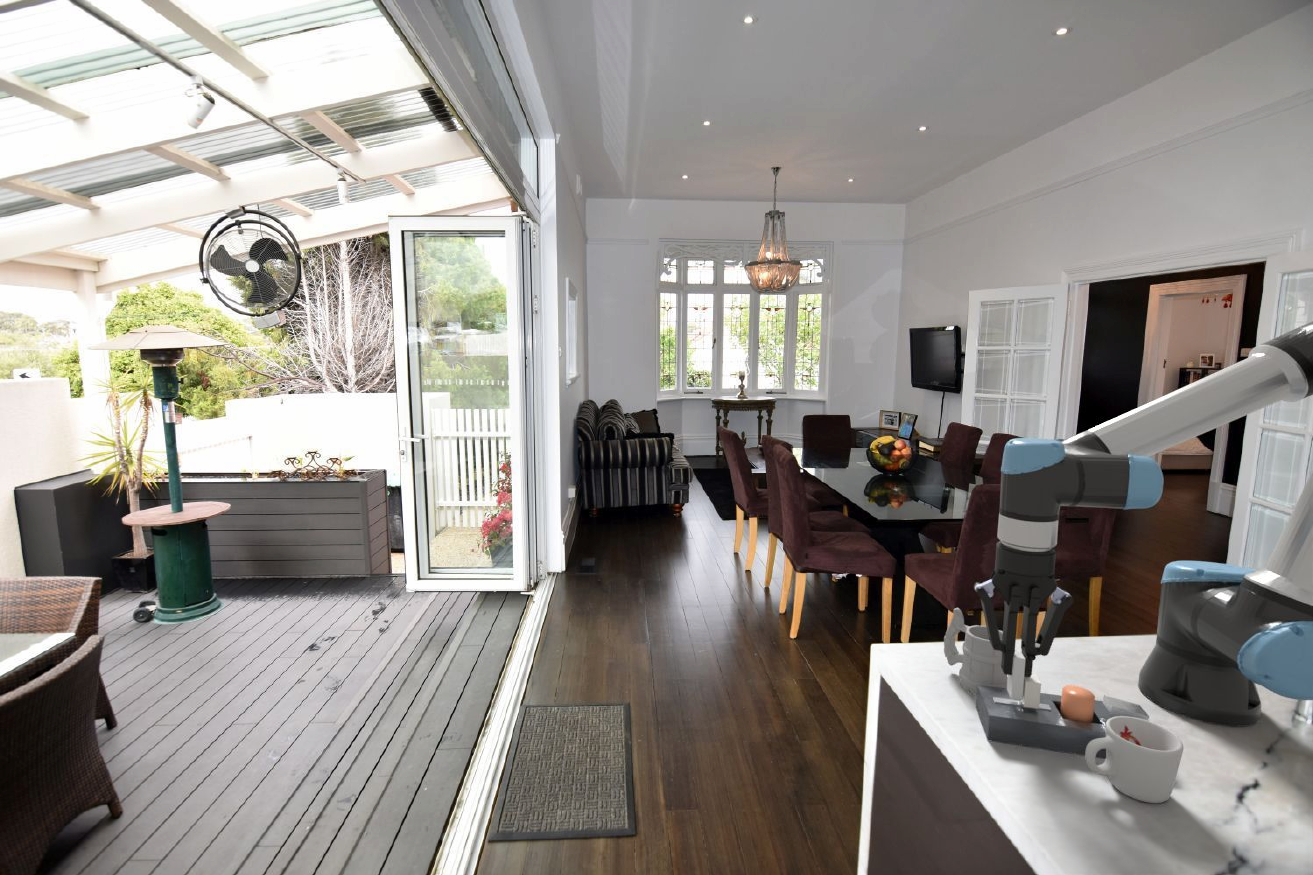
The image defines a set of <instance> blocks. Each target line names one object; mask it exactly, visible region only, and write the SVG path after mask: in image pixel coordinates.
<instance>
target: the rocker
mask: <svg viewBox="0 0 1313 875" xmlns="http://www.w3.org/2000/svg"><path fill="white" fill-rule="evenodd" d="M1101 701H1102V703H1103V704H1104V705H1105V707H1106V708H1107V709H1108V711H1109V712H1110V713H1112V714H1115V715H1119V716H1128V717H1135V718H1139V719H1143V720H1147V721H1149V720H1150V715H1149V714H1148V713H1147V712H1146V711H1145V710H1144V708H1143V707H1142V706H1141V704H1137V703H1133V702H1129V701H1125V700H1123V699H1118V698H1115V697H1112V696H1107V695H1104V696H1103V699H1102V700H1101Z"/></svg>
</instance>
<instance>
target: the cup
mask: <svg viewBox="0 0 1313 875" xmlns="http://www.w3.org/2000/svg"><path fill="white" fill-rule="evenodd" d="M1105 732H1106V737H1105V738H1098V739H1094V740H1092V741H1091V742H1089V743H1088V745H1087V747H1086V751H1085V756H1084V757H1085V761H1086V764H1087V766H1088V768H1089V769H1090V770H1091V771H1092V772H1094V773H1095V774H1098V775H1100V776H1101V775H1102V776H1108V779H1109V781H1110V783H1112V785H1113V786H1114V788H1116V789H1117V790H1118V791H1120V792H1121V793H1123V794H1124V795H1126V796H1129V798H1133V799H1135V800H1138V801H1141V802H1144V803H1150V804H1160V803H1163V802H1166V801H1168V800H1169V798H1170V797H1171V795H1172V793H1173V790H1174V787H1175V784H1176V779H1177V775H1178V772H1179V769H1180V764H1181V762H1182V761H1181V760H1182V757H1183V756H1182V755H1183V753H1184V744H1183V742H1182V739H1180V738H1179V736H1177V735H1176V734H1175V733H1174V732H1172V731H1171V730H1169V729H1168V728H1166V727H1164V726H1162V725H1159V724H1157V723H1156V722H1152V721H1150V720H1148V721H1147V720H1143V719H1139V718H1135V717H1128V716H1117V717H1112V718H1110V719H1108V720H1107V722H1106V724H1105ZM1101 749H1106V759H1105V760H1104V762H1103V763H1102V764H1099V765H1097V764H1096V757H1095V756H1096V754H1097V752H1098V751H1099V750H1101Z"/></svg>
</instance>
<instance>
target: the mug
mask: <svg viewBox="0 0 1313 875" xmlns="http://www.w3.org/2000/svg"><path fill="white" fill-rule="evenodd" d="M952 614H953V615H952V618H951V619H950V622H949V625H948V627H947V630H946V632H945V635H944V637H943V652H944V657H945V658H946V660H947V663H948V665H949V666H954V665H956V664H957V663H958V664H959V663H961V668H960V669H959V671H958V676H959V679H960V686H961V687H962V689H964V690H965V692H970V693H971V694H972V695H974V696H975V697H977V684H978V685H986V686H993V687H1001V688H1007V679H1008V675H1006V674H1004V672H1003V670H1002V668H1001V662H1002V652H1001V651H999V650H994V649H993V647H992V645H991V643H990V641H989V637H988V632H987V627H986V625H977V624H975V625H971V626H969V625H966V624H965V619H964V615H963V612H962V610H961V609H960V608H959V607H956V608H954V609H953V613H952ZM960 632H963V633H965V637H964V642H963V643H962V648H961V649H962V652H963V653H960V651H959V650H958V648H957V646H956V637H957V635H958V634H959V633H960ZM998 632H999V637H1000V640H1002V636H1003V630H999V629H998Z"/></svg>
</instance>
